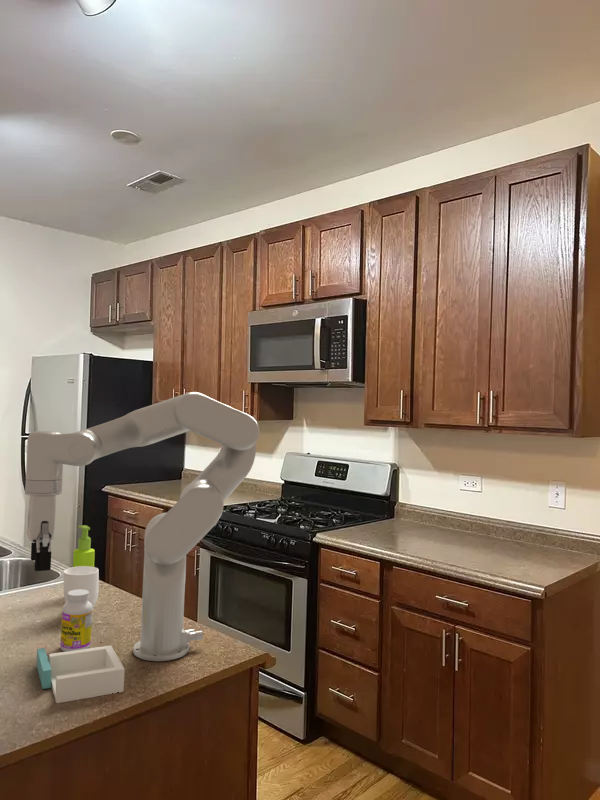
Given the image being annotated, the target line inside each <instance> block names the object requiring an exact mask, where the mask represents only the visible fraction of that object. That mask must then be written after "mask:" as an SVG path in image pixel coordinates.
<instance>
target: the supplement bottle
mask: <svg viewBox="0 0 600 800" xmlns="http://www.w3.org/2000/svg"><path fill="white" fill-rule="evenodd" d="M88 597H89V591H87V590H83V589H78V590H72V591H69V592H68V594H67V598H68V602H67V603H64V605H63V606H62V607H61V622H60V623H61V626H60V627H61V628H60V649H61V651H62V652H67V651H74V650H81V649H89V648H91V647H90V646H91V643H92V628H93V627H92V625H93V611H92V610H94V608H93V606H92V604H91V603H90V602H89V601H88Z"/></svg>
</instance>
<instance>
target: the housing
mask: <svg viewBox="0 0 600 800" xmlns="http://www.w3.org/2000/svg"><path fill="white" fill-rule="evenodd" d="M48 660H49V664H50V667H51V690H52V693H53V696H54V700H55V703H56V704H60V703H66V702H72V701H77V700H84V699H90V698H95V697H101V696H106V695H113V694H118V693H117V692H119V693H124V692H123V691H124V689H125V667H124V665H123V663H122V661H121V660H120V658H119V655H117V653H116V652H115V650H114V648H113V646H112V645H111V644H110V645H104V646H99V647H98V646H96V647H89V648H88V649H81V650H74V651H67V652H65V651H62V652H54V653H49V656H48ZM112 693H113V694H112Z"/></svg>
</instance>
